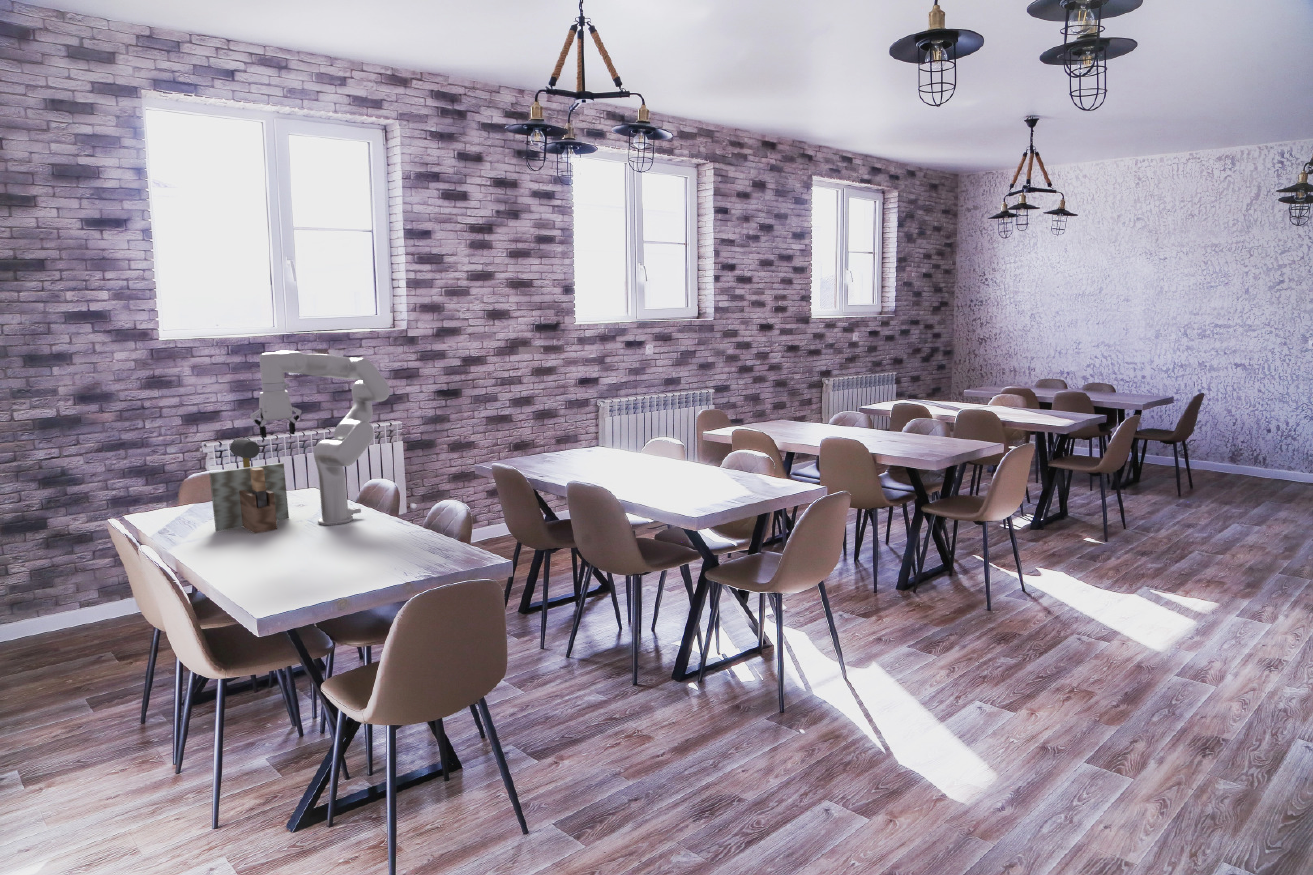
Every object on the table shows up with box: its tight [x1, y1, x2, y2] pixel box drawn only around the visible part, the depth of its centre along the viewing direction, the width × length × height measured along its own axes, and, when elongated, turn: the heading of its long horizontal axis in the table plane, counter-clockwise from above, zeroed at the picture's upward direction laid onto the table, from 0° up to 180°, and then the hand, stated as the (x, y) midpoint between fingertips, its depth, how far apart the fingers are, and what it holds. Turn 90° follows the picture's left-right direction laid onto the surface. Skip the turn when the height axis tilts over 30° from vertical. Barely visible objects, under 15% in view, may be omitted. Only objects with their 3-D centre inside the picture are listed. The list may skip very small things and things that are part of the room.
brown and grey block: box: [250, 467, 267, 508], centre depth 314 cm, size 3×5×14 cm, turn 43°
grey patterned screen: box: [209, 462, 290, 534], centre depth 318 cm, size 26×16×22 cm, turn 132°
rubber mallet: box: [229, 438, 261, 468], centre depth 342 cm, size 12×8×30 cm, turn 50°
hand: (278, 435), depth 302 cm, fingers open, 9 cm apart
